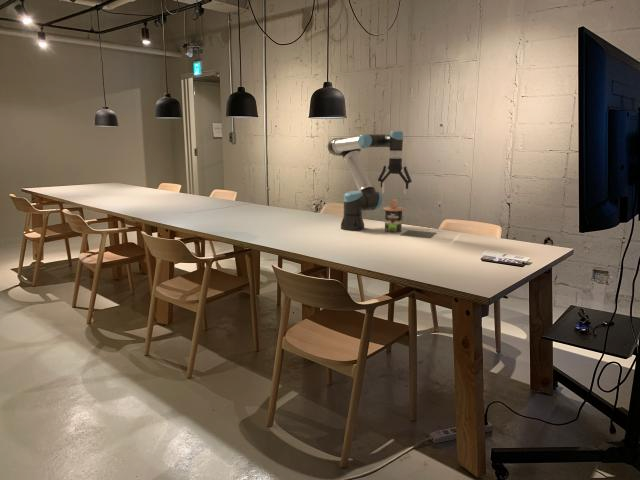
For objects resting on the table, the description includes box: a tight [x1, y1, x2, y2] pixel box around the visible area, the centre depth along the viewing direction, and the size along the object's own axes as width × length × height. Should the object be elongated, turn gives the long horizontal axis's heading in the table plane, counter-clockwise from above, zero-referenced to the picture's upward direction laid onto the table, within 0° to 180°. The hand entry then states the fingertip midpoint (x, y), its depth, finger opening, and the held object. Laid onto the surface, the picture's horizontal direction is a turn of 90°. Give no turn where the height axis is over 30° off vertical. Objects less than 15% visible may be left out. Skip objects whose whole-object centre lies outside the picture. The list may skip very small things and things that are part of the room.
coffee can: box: [384, 210, 403, 234], centre depth 289 cm, size 10×10×14 cm
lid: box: [382, 198, 406, 212], centre depth 287 cm, size 13×13×6 cm
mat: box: [400, 229, 437, 239], centre depth 284 cm, size 18×18×1 cm
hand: (394, 193), depth 286 cm, fingers open, 13 cm apart
